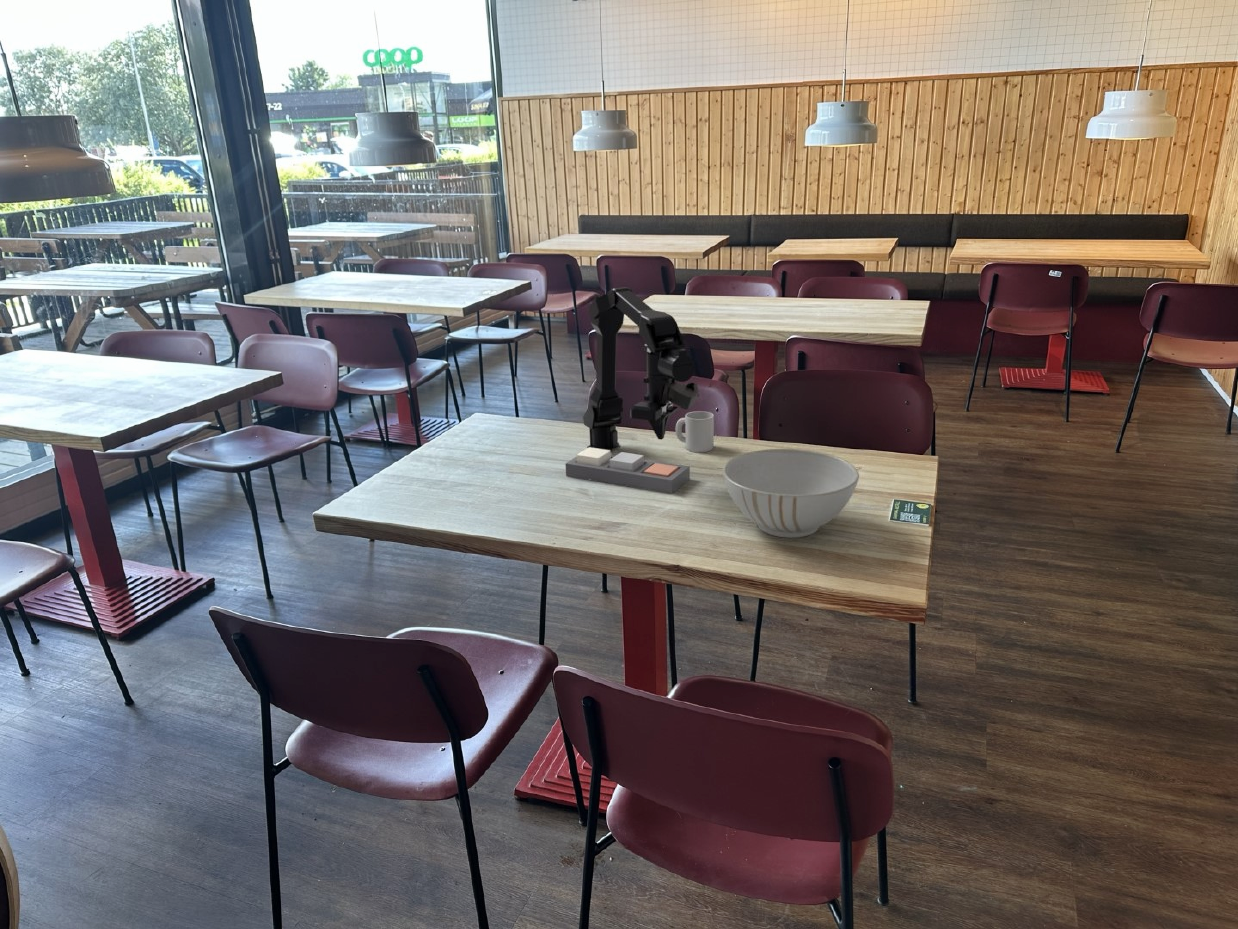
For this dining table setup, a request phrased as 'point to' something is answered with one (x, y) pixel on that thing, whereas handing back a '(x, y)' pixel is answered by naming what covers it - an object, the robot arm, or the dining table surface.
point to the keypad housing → (630, 475)
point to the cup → (697, 431)
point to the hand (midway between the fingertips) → (660, 438)
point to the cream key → (594, 456)
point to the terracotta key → (661, 470)
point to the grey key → (627, 461)
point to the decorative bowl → (790, 489)
